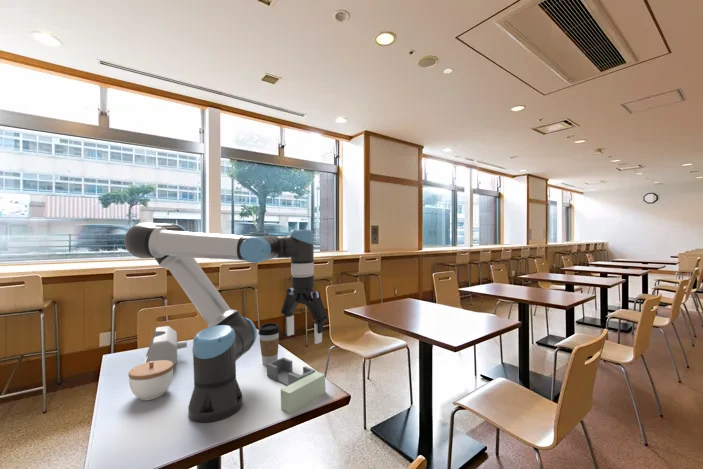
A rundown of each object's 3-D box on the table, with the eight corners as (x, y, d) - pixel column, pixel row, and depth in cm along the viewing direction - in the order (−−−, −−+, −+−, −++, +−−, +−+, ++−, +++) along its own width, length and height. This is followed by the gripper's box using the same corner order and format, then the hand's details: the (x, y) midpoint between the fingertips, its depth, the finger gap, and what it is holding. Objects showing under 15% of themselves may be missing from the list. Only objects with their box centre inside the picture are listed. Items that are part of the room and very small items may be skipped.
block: (290, 413, 94) (289, 393, 94) (281, 409, 96) (280, 389, 96) (325, 392, 105) (324, 374, 105) (316, 389, 108) (316, 371, 108)
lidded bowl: (179, 394, 107) (178, 360, 107) (134, 409, 98) (133, 373, 98) (167, 382, 116) (166, 351, 116) (125, 395, 107) (124, 362, 107)
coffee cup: (283, 358, 135) (282, 322, 135) (276, 367, 126) (275, 328, 126) (263, 358, 136) (262, 322, 136) (255, 366, 127) (254, 328, 127)
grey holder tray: (298, 391, 106) (298, 377, 106) (266, 375, 119) (266, 363, 119) (315, 383, 112) (315, 370, 112) (283, 369, 124) (283, 357, 124)
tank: (187, 369, 127) (187, 337, 127) (139, 378, 120) (138, 345, 120) (186, 349, 149) (185, 322, 149) (145, 356, 142) (144, 328, 142)
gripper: (338, 276, 103) (339, 342, 104) (287, 271, 119) (288, 329, 119) (321, 279, 98) (323, 349, 98) (270, 274, 113) (271, 334, 113)
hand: (303, 338), depth 108 cm, fingers open, 13 cm apart
